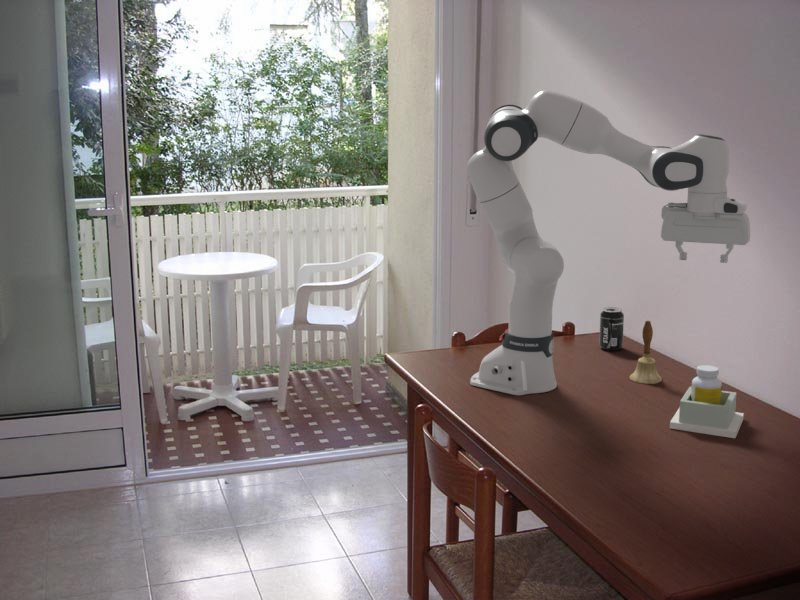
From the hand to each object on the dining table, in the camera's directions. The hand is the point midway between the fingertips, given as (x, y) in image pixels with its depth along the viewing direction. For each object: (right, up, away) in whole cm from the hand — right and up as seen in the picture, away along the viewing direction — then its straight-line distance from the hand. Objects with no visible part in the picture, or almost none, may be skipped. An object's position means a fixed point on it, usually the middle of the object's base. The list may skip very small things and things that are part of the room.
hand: (703, 261), depth 212 cm
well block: (-3, -38, -11) cm, 39 cm away
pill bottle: (-4, -36, -11) cm, 38 cm away
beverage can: (-10, -24, +50) cm, 56 cm away
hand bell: (-8, -31, +21) cm, 38 cm away
